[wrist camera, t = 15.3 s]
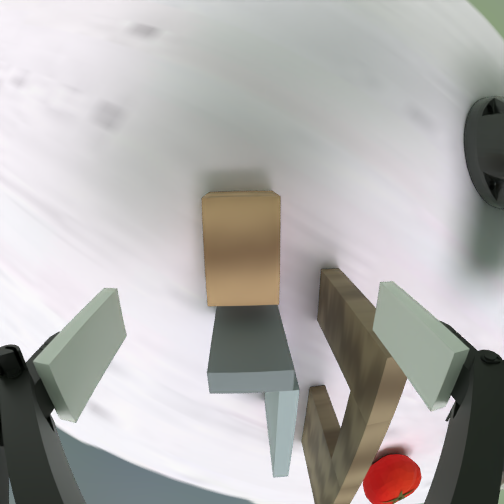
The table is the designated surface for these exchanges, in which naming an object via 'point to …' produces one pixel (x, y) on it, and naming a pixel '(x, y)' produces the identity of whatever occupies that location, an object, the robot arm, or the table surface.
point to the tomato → (391, 479)
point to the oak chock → (241, 247)
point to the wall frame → (360, 399)
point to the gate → (257, 370)
